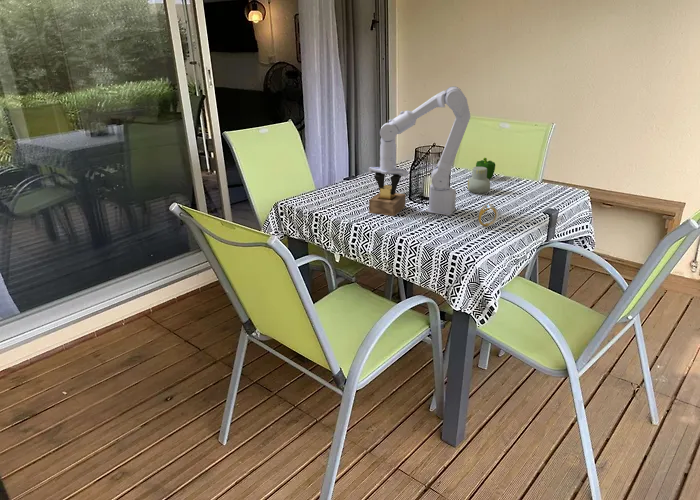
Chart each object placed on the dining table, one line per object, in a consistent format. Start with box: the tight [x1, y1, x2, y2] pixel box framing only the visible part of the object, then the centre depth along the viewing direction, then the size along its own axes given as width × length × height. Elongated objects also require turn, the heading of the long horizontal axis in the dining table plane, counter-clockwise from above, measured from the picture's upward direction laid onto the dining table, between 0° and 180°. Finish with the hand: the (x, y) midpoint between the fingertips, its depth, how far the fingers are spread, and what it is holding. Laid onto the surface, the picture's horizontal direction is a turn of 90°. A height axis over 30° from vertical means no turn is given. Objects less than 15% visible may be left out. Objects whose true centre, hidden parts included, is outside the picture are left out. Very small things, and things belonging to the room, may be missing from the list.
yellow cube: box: [379, 184, 395, 200], centre depth 190 cm, size 4×5×4 cm
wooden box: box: [368, 192, 407, 217], centre depth 192 cm, size 10×12×5 cm
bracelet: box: [477, 203, 499, 228], centre depth 173 cm, size 7×3×8 cm, turn 99°
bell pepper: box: [475, 157, 496, 180], centre depth 229 cm, size 8×8×10 cm
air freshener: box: [467, 166, 491, 194], centre depth 210 cm, size 11×8×10 cm
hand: (387, 193), depth 191 cm, fingers closed on yellow cube, 4 cm apart
